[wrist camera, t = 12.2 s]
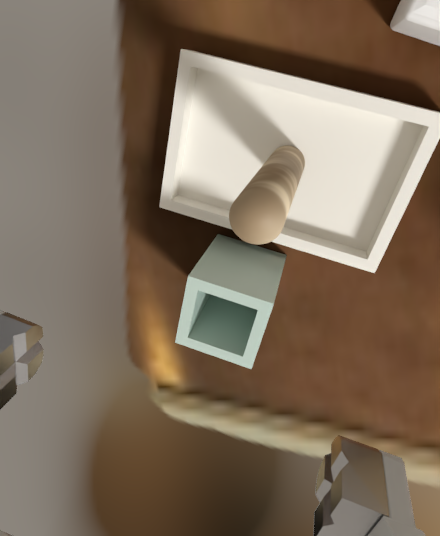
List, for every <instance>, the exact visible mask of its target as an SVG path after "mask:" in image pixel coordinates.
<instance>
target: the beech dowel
mask: <svg viewBox="0 0 440 536" xmlns="http://www.w3.org/2000/svg"><path fill="white" fill-rule="evenodd" d="M304 167H305V159H304V156H303V154H302V152H301V151H300V150H299V149H298V148H296V147H294V146H290V145H285V146H281V147H279V148H277V149H276V150H275V151H274V152H273V153H272V154H271V156H270V157H269V158H268V159H267V161H266V162H265V163H264V164H263V166H262V167H261V168H260V169H259V171H258V172H257V173H256V174H255V176H254V177H253V178H252V179H251V181H250V182H249V183H248V184H247V186H246V187H245V188H244V189H243V191H242V192H241V193H240V194H239V196H238V197H237V198H236V199H235V201H234V202H233V204H232V206H231V208H230V212H229V221H230V225H231V228H232V229H233V231H234V233H235V234H236V235H237V236H238V237H239V238H240V239H242V240H243V241H245V242H247V243H250V244H256V245H260V244H266V243H269V242H271V241H273V240H274V239H276V238H277V237H278V236H279V234H280V233H281V231H282V229H283V227H284V224H285V221H286V218H287V215H288V213H289V210H290V207H291V204H292V201H293V198H294V196H295V193H296V190H297V187H298V184H299V181H300V179H301V176H302V173H303V170H304Z"/></svg>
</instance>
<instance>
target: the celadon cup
mask: <svg viewBox="0 0 440 536" xmlns="http://www.w3.org/2000/svg"><path fill="white" fill-rule="evenodd" d="M285 259H286V255H285V254H282V253H278V252H275V251H272V250H269V249H265V248H262V247H259V246H256V245H252V244H249V243H246V242H243V241H240V240H236V239H233V238H230V237H227V236H223V235H220V234H218V235H217V236H216V237H215V239H214V240H213V242H212V243H211V244H210V246H209V247H208V249H207V250H206V252H205V253H204V254H203V256H202V257H201V259H200V260H199V261H198V263H197V264H196V266H195V267H194V268H193V270H192V271H191V273H190V274H189V275H188V279H187V284H186V290H185V295H184V300H183V305H182V310H181V315H180V320H179V325H178V330H177V335H176V341H175V343H178V344H181V345H184V346H187V347H190V348H193V349H195V350H198V351H201V352H204V353H207V354H210V355H212V356H215V357H218V358H221V359H224V360H227V361H229V362H232V363H235V364H238V365H241V366H244V367H246V368H249V369H252V366H253V363H254V360H255V357H256V354H257V351H258V348H259V345H260V343H261V340H262V337H263V334H264V331H265V328H266V325H267V322H268V319H269V316H270V313H271V311H272V308H273V305H274V301H275V297H276V294H277V290H278V286H279V282H280V278H281V274H282V271H283V267H284V263H285Z"/></svg>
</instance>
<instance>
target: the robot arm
mask: <svg viewBox="0 0 440 536" xmlns="http://www.w3.org/2000/svg"><path fill="white" fill-rule="evenodd" d="M42 337H43V330H42V327H41V326H39V325H37V324H35V323H32V322H30V321H27V320H25V319H22V318H20V317H17V316H15V315H12V314H10V313H7V312H4V311H1V310H0V409H1V408H3V407H4V406H5V404H6V403H8V402H9V401H10V399H11V398H12V397H13V396H14V395H15V394H16V393H17V385H20V384H22V383H25V382H28V381H29V380H30V379H31V378H32V377H33V376H34V375H35V374H36V372H37V371H38V369H39V367H40V365H41V363H42V360H43V356H44V354H43V348H42V346H41V344H40V343H39V340H40V339H41V338H42ZM315 494H316V496H317V498H318V500H319V502H320V504H319V506H318V507H317V509H316V511H315V512H314V535H313V536H426V535H425V534H424V532H423V531H421V530H419V529H417V528H416V527H415V521H414V516H413V510H412V505H411V500H410V493H409V488H408V482H407V477H406V471H405V465H404V462H403V460H402V458H400V457H397V456H395V455H392V454H389V453H386V452H384V451H381V450H378V449H376V448H373V447H370V446H367V445H365V444H362V443H359V442H356V441H353V440H351V439H348V438H345V437H342V436H339V435H338V436H337V437H336V438H335V439H334V441H333V443H332V444H331V453H330V454H327V455H325V457H324V459H323V460H322V462H321V465H320V468H319V471H318V474H317V481H316V492H315ZM0 536H12V535H10V534H8V533H6V532H3V531H1V530H0Z"/></svg>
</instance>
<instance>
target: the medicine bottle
mask: <svg viewBox="0 0 440 536" xmlns="http://www.w3.org/2000/svg"><path fill="white" fill-rule="evenodd" d="M390 27H391V29H392V30H394V31H396V32H399V33H402V34H405V35H408V36H411V37H414V38H417V39H420V40H423V41H426V42H429V43H432V44H435V45H438V46H440V0H401V1H400V3H399V5H398V7H397V10H396V12H395V14H394V16H393V19H392V21H391V23H390Z"/></svg>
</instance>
